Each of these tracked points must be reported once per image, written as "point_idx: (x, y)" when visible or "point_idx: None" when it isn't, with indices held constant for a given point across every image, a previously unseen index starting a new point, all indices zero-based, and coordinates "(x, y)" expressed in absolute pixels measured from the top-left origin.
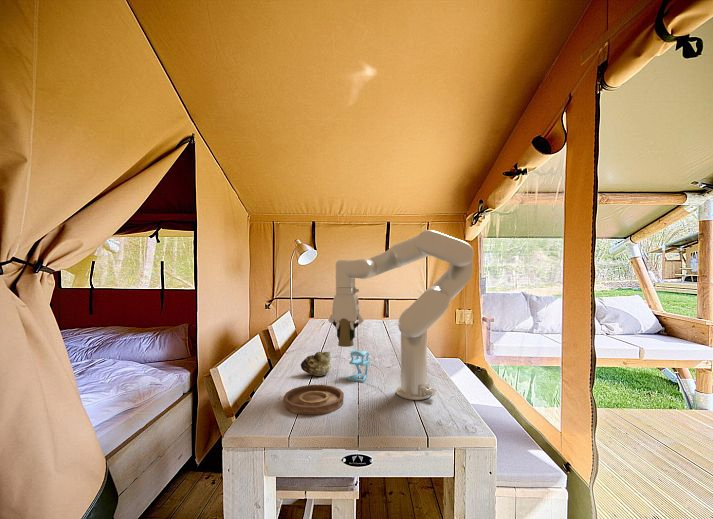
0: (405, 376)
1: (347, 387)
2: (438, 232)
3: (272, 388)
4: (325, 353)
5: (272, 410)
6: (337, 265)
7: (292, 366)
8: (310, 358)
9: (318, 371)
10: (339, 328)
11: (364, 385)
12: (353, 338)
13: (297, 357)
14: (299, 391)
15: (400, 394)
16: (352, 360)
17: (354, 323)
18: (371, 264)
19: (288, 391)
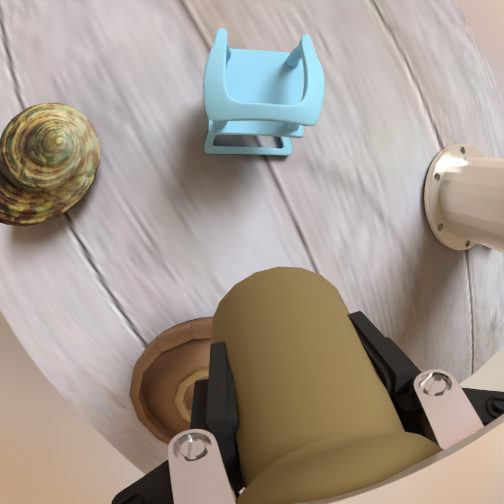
0: (490, 247)
1: (253, 239)
2: None
3: (48, 355)
4: (45, 158)
5: (165, 448)
6: None
7: None
8: (6, 202)
9: (74, 201)
10: (240, 476)
11: (306, 187)
12: (359, 316)
13: None
14: (143, 376)
15: (443, 242)
16: (225, 123)
17: (466, 428)
18: None
19: (136, 412)
